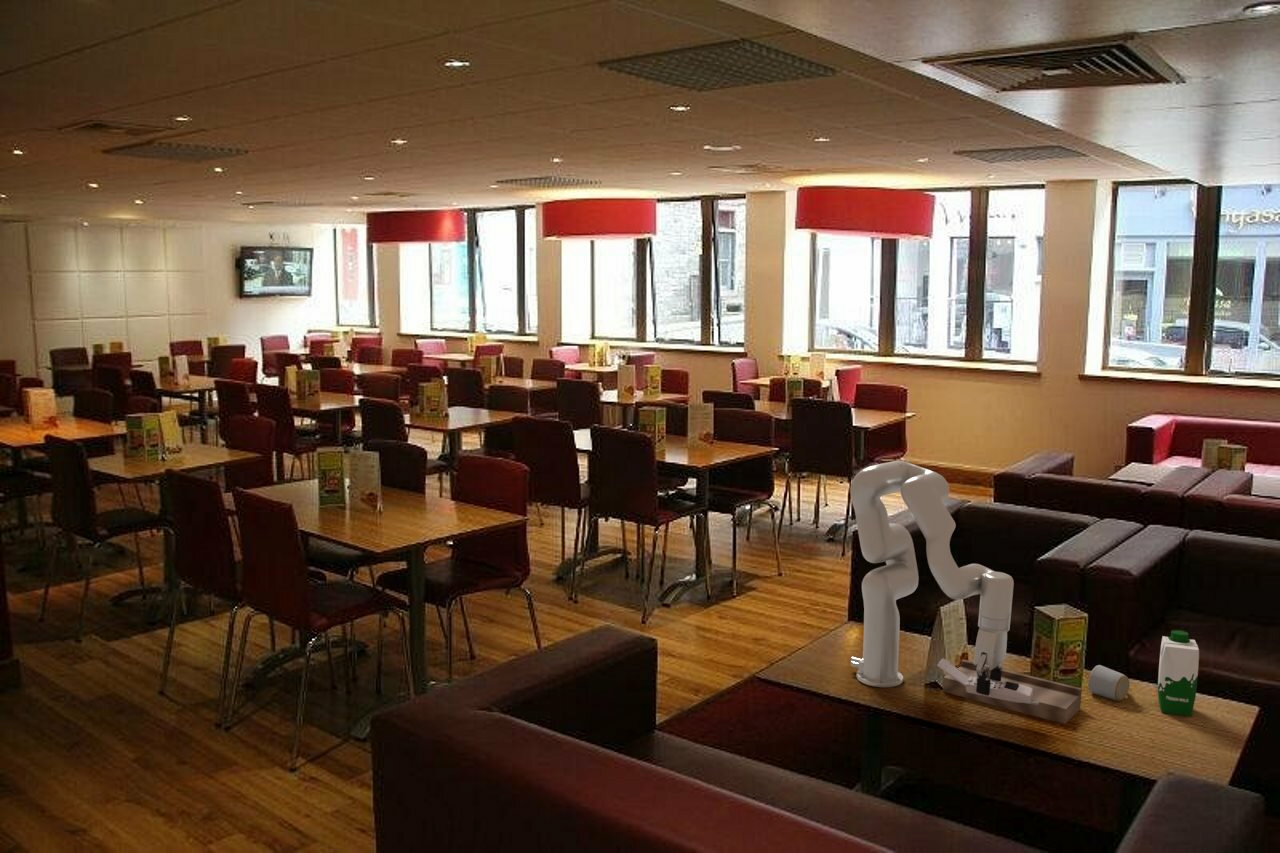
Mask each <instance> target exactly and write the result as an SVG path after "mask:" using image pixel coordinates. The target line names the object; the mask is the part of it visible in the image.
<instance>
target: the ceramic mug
mask: <svg viewBox="0 0 1280 853" xmlns="http://www.w3.org/2000/svg"><path fill="white" fill-rule="evenodd" d="M1087 687H1088V690H1089V692H1090V693H1092V694H1095V695H1097V696H1101V697H1104V698H1106V699H1109V700H1113V701H1118V702H1119V701H1120V702H1121V701H1122V700H1124V699H1125V698H1126V697H1127V695H1128V692H1129V689H1130V680H1129V677H1128V676H1126V675H1125V674H1123V673H1121V672H1119V671H1116V670H1114V669H1111V668H1109V667H1106V666H1104V665H1101V664H1098V665H1095V666H1094V668H1092V670H1091V672H1090V674H1089V677H1088V685H1087Z"/></svg>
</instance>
